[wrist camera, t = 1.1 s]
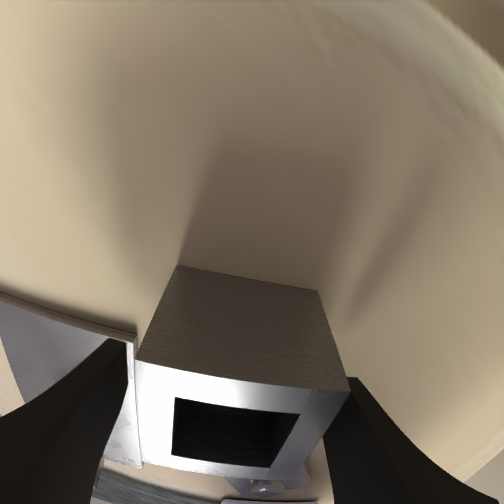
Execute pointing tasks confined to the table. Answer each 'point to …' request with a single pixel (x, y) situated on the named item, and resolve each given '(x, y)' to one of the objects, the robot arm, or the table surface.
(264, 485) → the gray t-shaped latch
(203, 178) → the table surface
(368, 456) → the robot arm
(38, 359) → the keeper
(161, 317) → the gray hollow cube
